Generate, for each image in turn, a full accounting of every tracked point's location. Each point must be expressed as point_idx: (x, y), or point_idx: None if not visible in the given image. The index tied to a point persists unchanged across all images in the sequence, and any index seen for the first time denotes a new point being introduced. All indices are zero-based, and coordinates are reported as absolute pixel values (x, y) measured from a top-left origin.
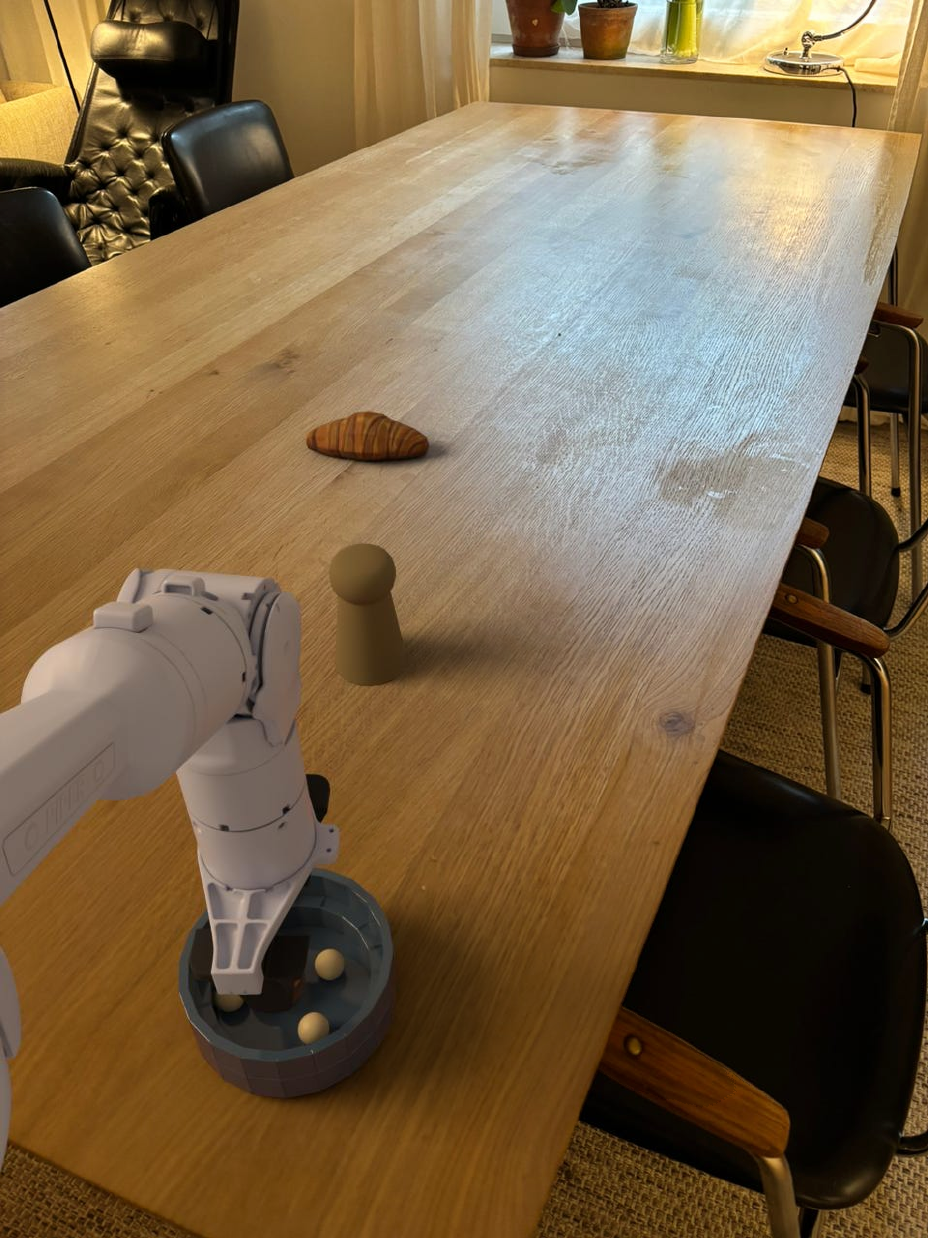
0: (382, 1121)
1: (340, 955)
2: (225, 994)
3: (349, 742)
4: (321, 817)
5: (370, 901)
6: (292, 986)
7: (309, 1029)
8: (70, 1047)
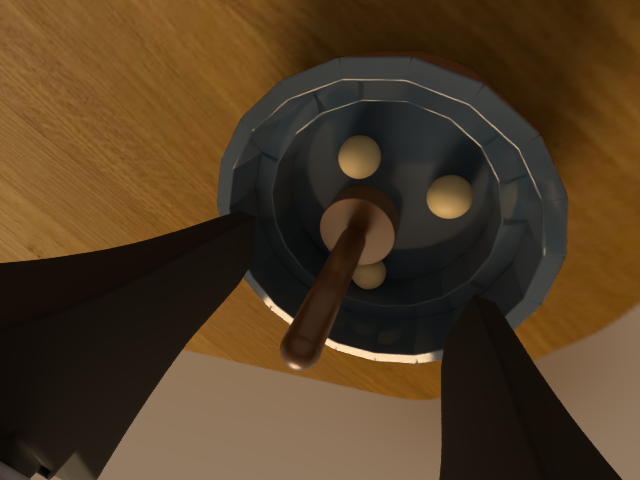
0: (627, 114)
1: (353, 143)
2: (371, 284)
3: (47, 66)
4: (25, 330)
5: (287, 91)
6: (582, 431)
7: (459, 210)
8: (370, 364)
